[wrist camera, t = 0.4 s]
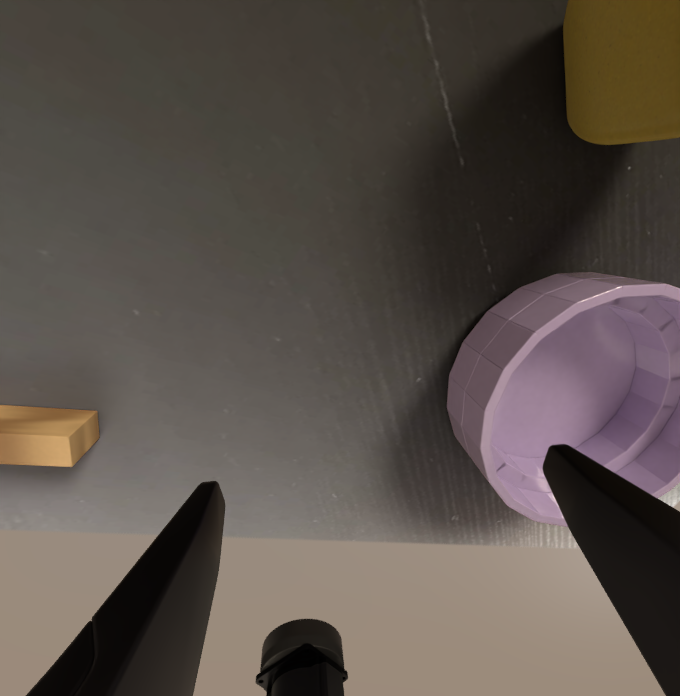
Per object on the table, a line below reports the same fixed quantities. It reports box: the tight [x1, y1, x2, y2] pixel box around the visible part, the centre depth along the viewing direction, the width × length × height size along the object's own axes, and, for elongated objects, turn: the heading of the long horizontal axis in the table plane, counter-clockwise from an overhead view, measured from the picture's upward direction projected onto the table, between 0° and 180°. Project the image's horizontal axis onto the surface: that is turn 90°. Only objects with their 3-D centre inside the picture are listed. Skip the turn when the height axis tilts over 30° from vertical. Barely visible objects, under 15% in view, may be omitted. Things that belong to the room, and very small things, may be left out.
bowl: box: [447, 272, 680, 527], centre depth 23 cm, size 15×15×6 cm
